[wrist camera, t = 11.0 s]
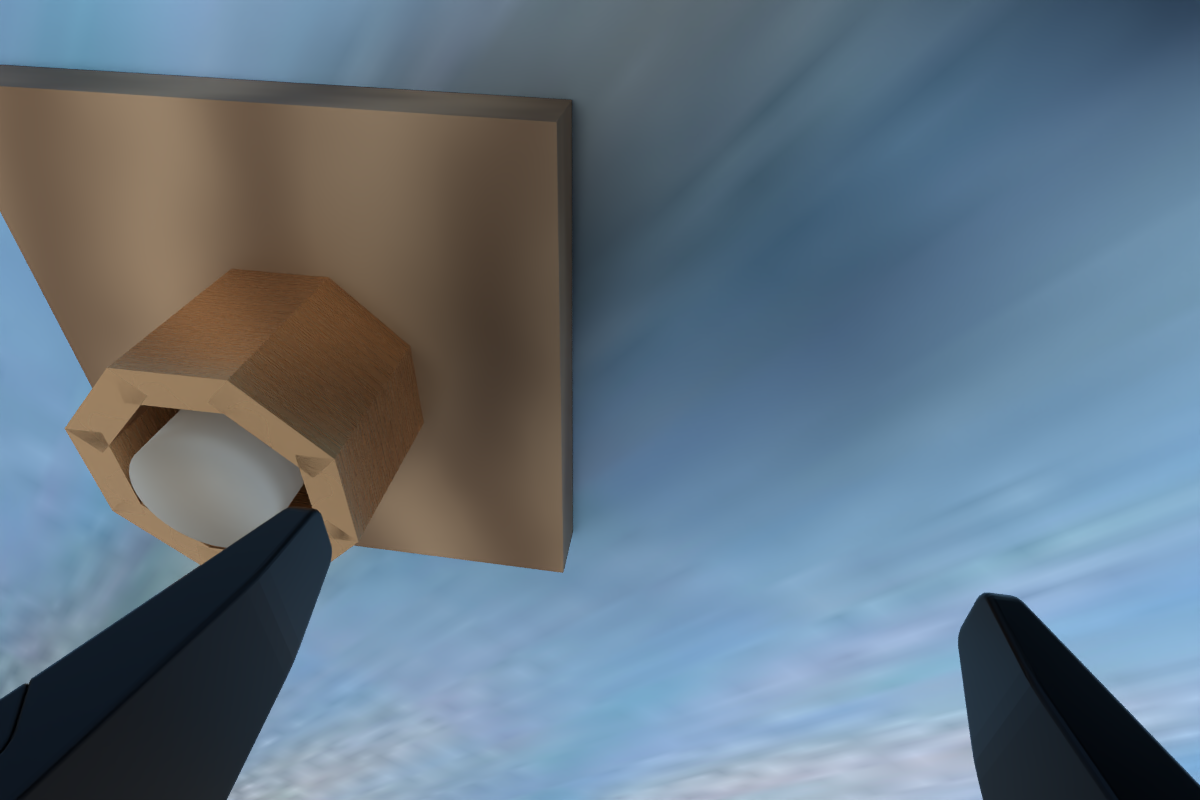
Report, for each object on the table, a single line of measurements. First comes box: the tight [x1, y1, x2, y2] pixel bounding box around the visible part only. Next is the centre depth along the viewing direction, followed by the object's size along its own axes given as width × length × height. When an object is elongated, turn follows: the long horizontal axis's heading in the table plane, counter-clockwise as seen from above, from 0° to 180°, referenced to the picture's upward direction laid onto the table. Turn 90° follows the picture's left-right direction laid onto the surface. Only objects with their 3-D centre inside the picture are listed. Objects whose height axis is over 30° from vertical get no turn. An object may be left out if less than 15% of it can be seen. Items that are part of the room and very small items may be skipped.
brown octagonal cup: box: [65, 269, 424, 565], centre depth 20 cm, size 7×7×5 cm
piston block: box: [0, 65, 573, 573], centre depth 20 cm, size 16×16×8 cm
